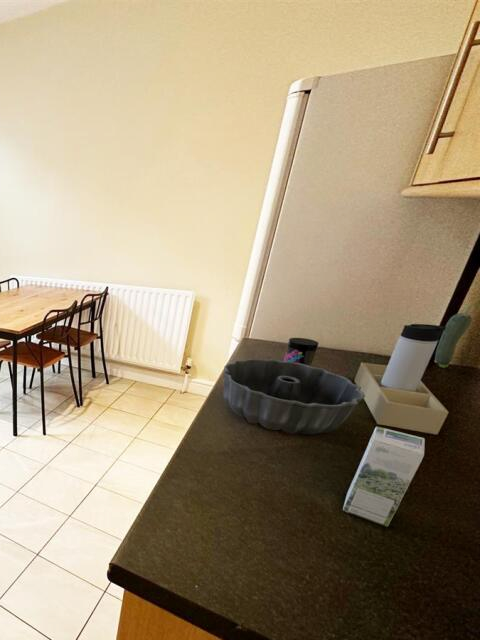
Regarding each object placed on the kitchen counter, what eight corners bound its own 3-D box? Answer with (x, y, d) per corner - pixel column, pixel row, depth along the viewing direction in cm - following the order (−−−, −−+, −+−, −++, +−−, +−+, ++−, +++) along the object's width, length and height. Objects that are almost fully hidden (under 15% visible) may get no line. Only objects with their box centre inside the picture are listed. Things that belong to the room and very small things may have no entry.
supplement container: (278, 369, 126) (287, 336, 121) (305, 372, 122) (316, 339, 118) (280, 377, 120) (290, 343, 116) (309, 381, 117) (320, 346, 113)
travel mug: (399, 409, 99) (435, 329, 91) (368, 398, 105) (398, 321, 97) (417, 405, 100) (453, 326, 92) (385, 394, 106) (417, 319, 98)
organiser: (401, 387, 111) (410, 368, 109) (437, 434, 90) (448, 412, 88) (354, 380, 116) (361, 362, 114) (377, 424, 95) (386, 402, 92)
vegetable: (427, 366, 124) (457, 300, 116) (428, 362, 126) (457, 297, 118) (449, 370, 121) (481, 302, 113) (450, 366, 123) (481, 300, 115)
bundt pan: (383, 444, 87) (401, 402, 83) (258, 448, 87) (271, 406, 83) (292, 391, 111) (303, 357, 107) (194, 394, 111) (202, 360, 107)
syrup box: (390, 510, 69) (426, 436, 63) (387, 529, 66) (426, 452, 60) (346, 495, 73) (376, 424, 67) (341, 512, 69) (372, 438, 63)
